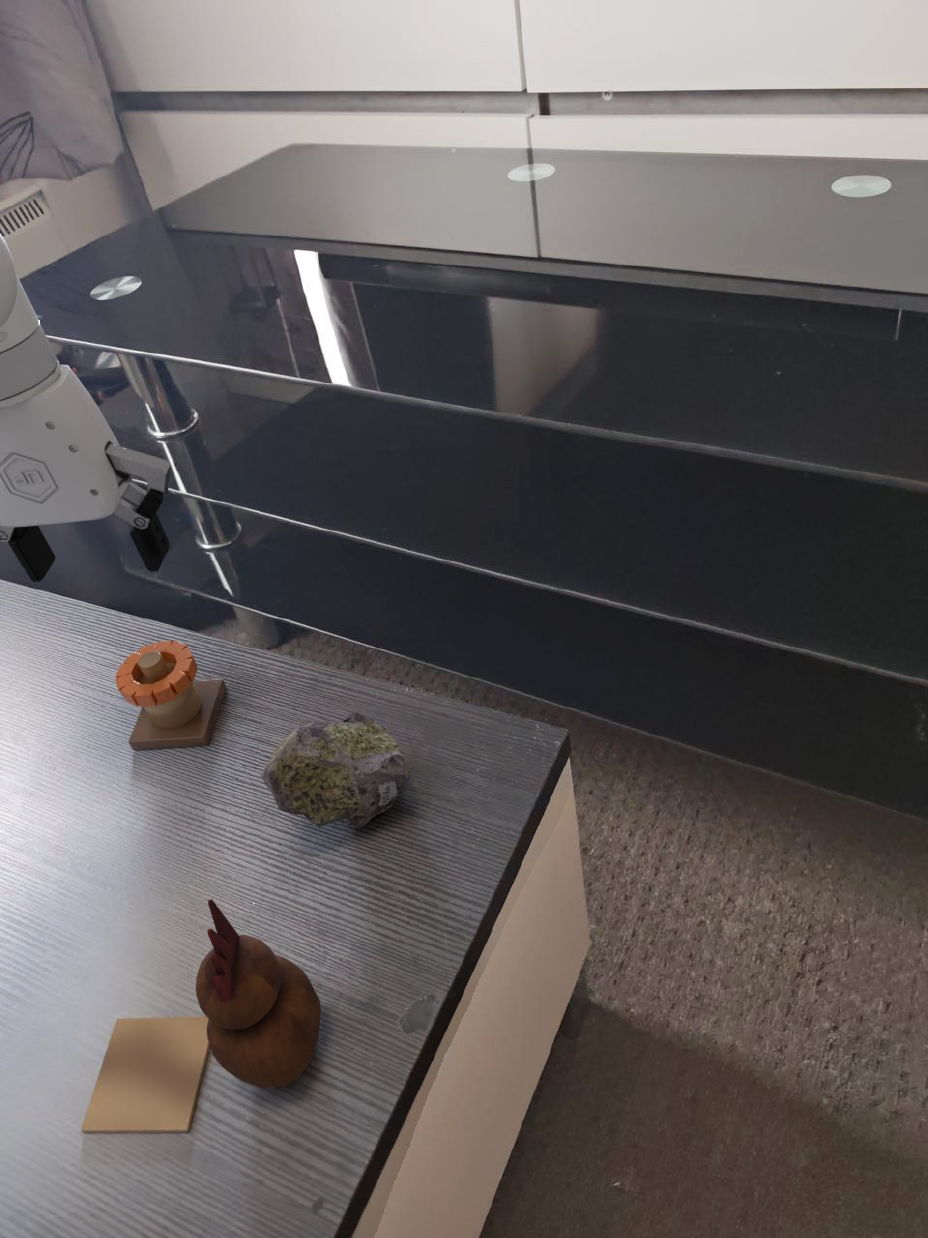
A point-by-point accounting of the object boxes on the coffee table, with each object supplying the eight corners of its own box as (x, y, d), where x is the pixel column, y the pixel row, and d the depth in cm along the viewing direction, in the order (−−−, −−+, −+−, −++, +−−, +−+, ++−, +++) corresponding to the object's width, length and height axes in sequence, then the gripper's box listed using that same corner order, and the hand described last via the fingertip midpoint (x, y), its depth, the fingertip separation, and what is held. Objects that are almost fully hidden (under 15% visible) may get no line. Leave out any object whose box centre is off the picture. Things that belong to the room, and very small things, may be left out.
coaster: (189, 1132, 56) (187, 1130, 56) (83, 1133, 57) (80, 1130, 57) (217, 1018, 61) (215, 1016, 61) (119, 1021, 62) (116, 1018, 62)
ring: (185, 704, 77) (179, 693, 76) (111, 709, 77) (105, 698, 77) (205, 649, 81) (200, 637, 81) (136, 654, 82) (129, 643, 81)
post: (208, 746, 80) (176, 686, 75) (133, 750, 81) (96, 692, 76) (227, 687, 85) (199, 627, 80) (156, 692, 86) (124, 634, 81)
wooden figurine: (267, 990, 62) (189, 868, 52) (344, 1008, 60) (279, 886, 50) (221, 1092, 58) (126, 980, 48) (302, 1116, 56) (222, 1004, 46)
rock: (373, 886, 67) (340, 805, 60) (269, 845, 71) (227, 765, 64) (441, 776, 73) (418, 691, 67) (342, 744, 78) (311, 661, 71)
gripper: (-152, 408, 59) (-20, 605, 71) (96, 378, 57) (192, 588, 68) (-93, 355, 65) (21, 546, 76) (135, 325, 62) (218, 527, 74)
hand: (101, 565), depth 72 cm, fingers open, 9 cm apart
